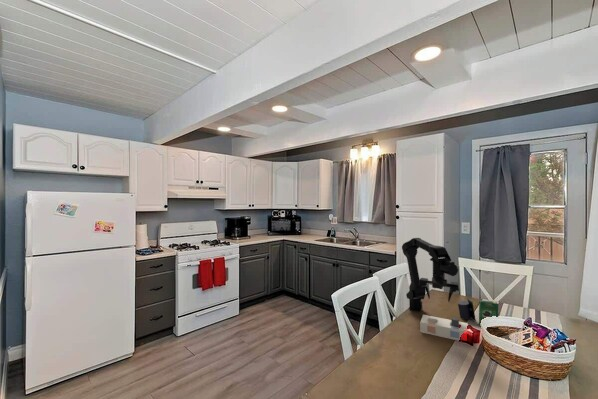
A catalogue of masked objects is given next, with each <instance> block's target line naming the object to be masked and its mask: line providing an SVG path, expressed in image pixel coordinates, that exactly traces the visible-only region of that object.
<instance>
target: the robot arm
mask: <svg viewBox="0 0 598 399" xmlns="http://www.w3.org/2000/svg"><path fill="white" fill-rule="evenodd" d="M401 245H402V246H401V250H402V253H403V254H404V256H405V257H406V261H407V265H408V272H409V278H410V284H409V286H408V289H409V291H408V292H406V298H407V299H408V300H409V301H408V302H409V304H408V305H409V306H408V310H410V311H415V312H421V311H422V310H423V301H422V300H425V297H426V295H427V297H428V299H429V300H430V299H431V290H430V285H431V286H432V288H433V289H438V290H442V289H444V288H449V290H448V291H449V292H448V299H447V302H448V303H450V301H451V298H452V296H453V294H454V293H456V292H459V291H460V283H459V282H457V281H450V283H449V282H448V280H447V279H446V276H445V275H448V276H451V277H454V276H457V274H458V272H459V268H458V266H457V264H455V261H452V258H451V256H450V255H449V253H448V251H447V248H446V247H444V246H441V245H434V244H432V243H430V242H427V241H426V240H423V239H422V238H420V237H413V238H411V239H410V240H408V241H406V242H404V243H403V244H401ZM419 248H420V249H422V250H424V251H425V252H427V253H428V255H429V256H430V257H431V258H429V261H431V262H432V277H431V280H429V278H426V277H421V278H420V274H419V269H418V263H417V259H416V257H417V255H418V249H419Z"/></svg>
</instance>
